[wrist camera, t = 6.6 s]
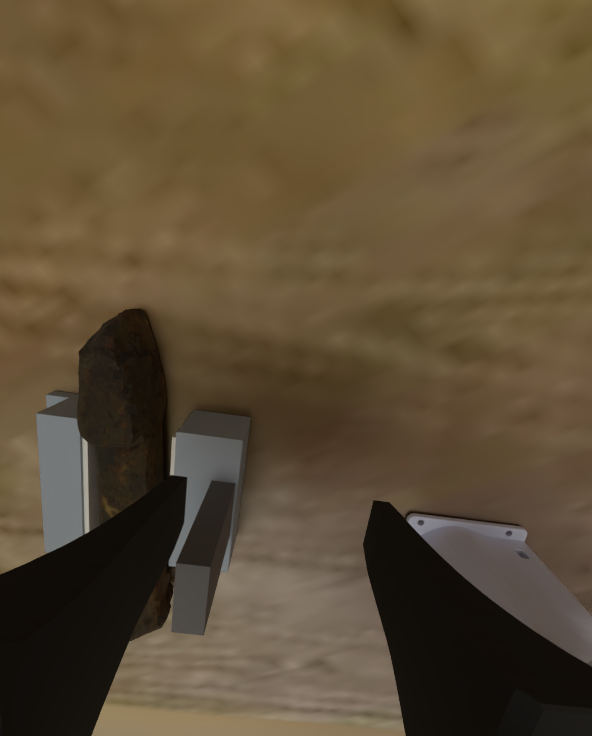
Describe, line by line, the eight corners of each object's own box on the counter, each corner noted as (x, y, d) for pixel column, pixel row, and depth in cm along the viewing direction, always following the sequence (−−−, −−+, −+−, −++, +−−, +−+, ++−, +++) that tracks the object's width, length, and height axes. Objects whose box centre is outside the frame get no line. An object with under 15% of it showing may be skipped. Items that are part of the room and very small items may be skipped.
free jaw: (251, 417, 22) (219, 509, 13) (237, 533, 24) (202, 681, 15) (190, 408, 22) (114, 496, 13) (182, 526, 24) (113, 672, 15)
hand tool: (181, 585, 26) (152, 662, 21) (123, 579, 26) (79, 656, 20) (195, 315, 20) (161, 324, 15) (122, 305, 20) (61, 311, 15)
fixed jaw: (117, 399, 22) (84, 419, 18) (117, 519, 24) (87, 556, 21) (55, 390, 21) (9, 410, 18) (60, 512, 24) (21, 549, 20)
